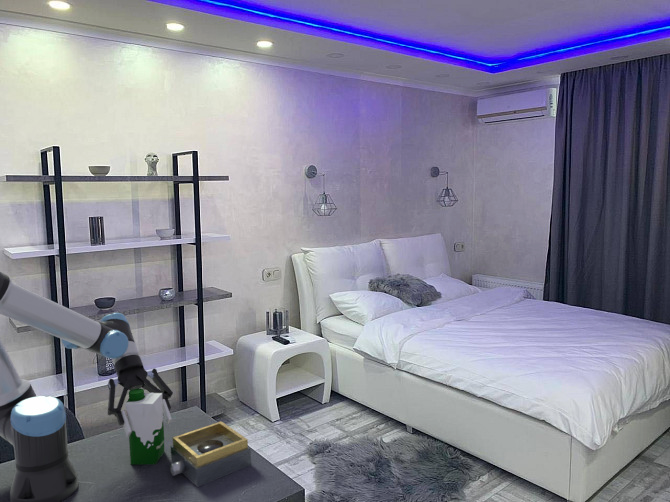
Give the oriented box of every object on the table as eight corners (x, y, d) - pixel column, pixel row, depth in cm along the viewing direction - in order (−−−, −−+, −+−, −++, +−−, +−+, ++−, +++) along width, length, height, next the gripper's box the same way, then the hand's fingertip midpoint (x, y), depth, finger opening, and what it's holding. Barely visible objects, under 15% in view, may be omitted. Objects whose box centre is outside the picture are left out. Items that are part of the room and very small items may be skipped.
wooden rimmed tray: (185, 491, 132) (184, 463, 131) (160, 466, 144) (159, 441, 143) (251, 465, 144) (250, 439, 143) (223, 444, 156) (221, 420, 155)
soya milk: (138, 450, 153) (134, 385, 151) (168, 450, 153) (165, 385, 150) (125, 466, 144) (121, 397, 142) (158, 466, 144) (154, 397, 142)
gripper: (161, 358, 165) (185, 421, 155) (83, 376, 150) (103, 447, 140) (167, 345, 160) (192, 409, 150) (87, 362, 145) (108, 435, 135)
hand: (149, 427), depth 145 cm, fingers open, 11 cm apart
